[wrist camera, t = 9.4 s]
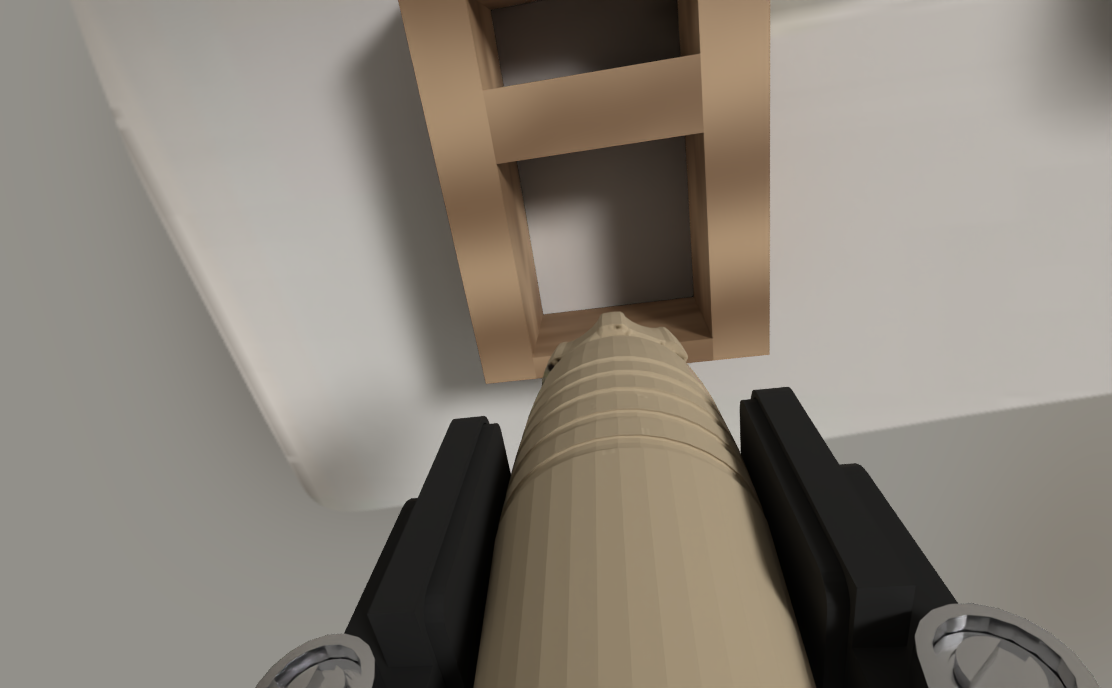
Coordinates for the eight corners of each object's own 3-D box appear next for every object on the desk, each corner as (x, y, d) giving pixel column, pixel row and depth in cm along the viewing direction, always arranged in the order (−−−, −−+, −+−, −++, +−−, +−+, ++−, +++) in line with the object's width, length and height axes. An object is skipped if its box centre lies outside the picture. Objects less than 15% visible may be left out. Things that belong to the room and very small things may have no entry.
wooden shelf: (428, -23, 23) (386, -49, 18) (733, -83, 21) (770, -128, 17) (503, 337, 29) (486, 383, 25) (741, 310, 28) (769, 354, 23)
